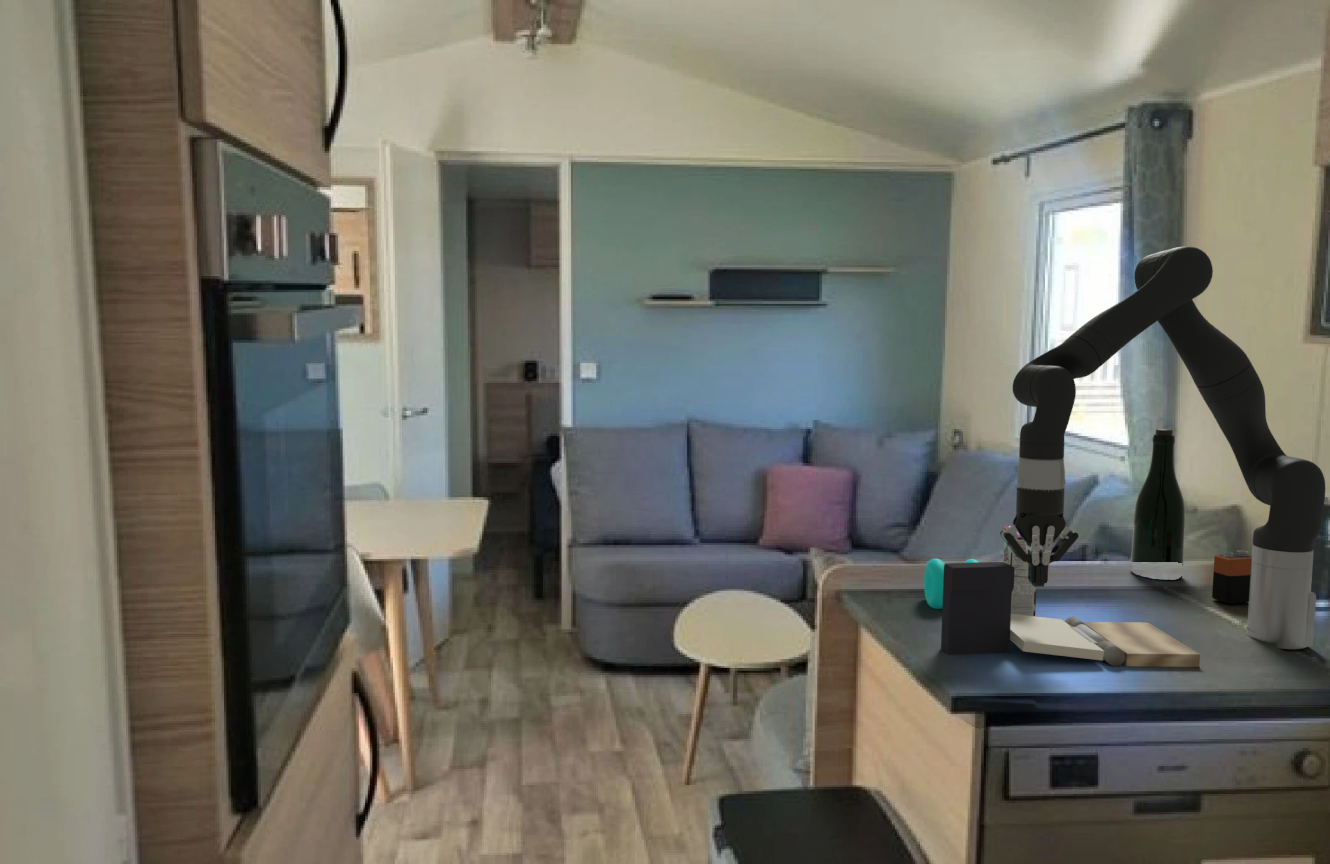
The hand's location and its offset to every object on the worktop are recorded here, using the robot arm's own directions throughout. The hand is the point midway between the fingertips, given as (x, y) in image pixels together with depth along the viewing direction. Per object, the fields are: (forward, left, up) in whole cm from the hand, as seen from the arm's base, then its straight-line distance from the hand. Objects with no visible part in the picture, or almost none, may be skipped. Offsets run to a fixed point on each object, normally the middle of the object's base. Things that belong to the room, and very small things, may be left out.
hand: (1037, 585), depth 170 cm
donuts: (+7, -24, -11) cm, 27 cm away
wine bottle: (-46, -53, -11) cm, 71 cm away
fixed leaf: (-17, 0, -11) cm, 20 cm away
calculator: (+11, +2, -11) cm, 16 cm away
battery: (-52, -33, -11) cm, 63 cm away
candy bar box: (-4, -20, -11) cm, 23 cm away
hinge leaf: (-10, 0, -9) cm, 14 cm away
